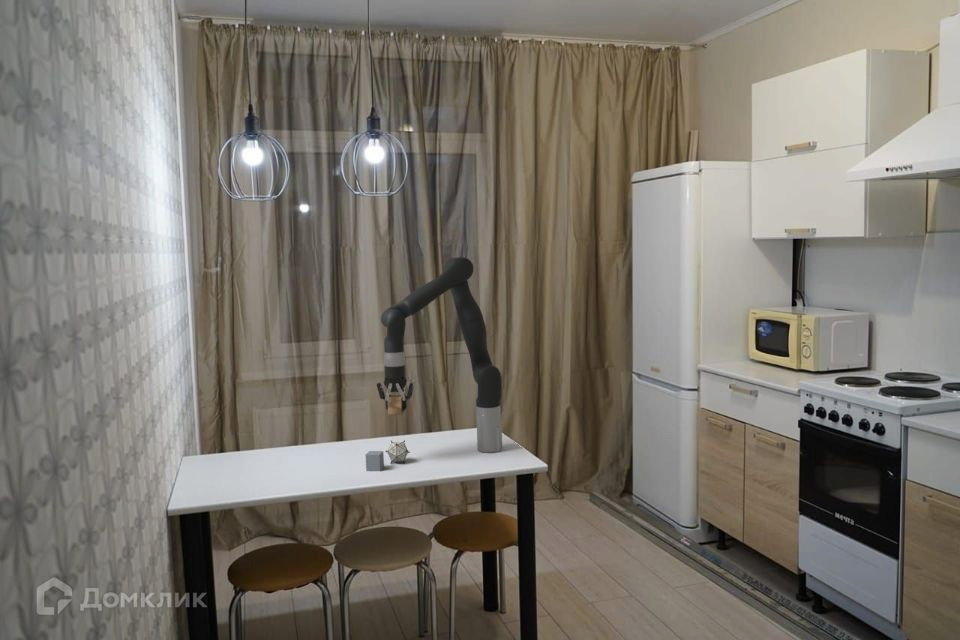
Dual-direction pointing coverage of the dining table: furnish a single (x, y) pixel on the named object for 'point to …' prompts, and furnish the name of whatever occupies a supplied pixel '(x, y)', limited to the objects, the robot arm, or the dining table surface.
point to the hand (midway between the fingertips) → (396, 410)
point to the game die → (397, 451)
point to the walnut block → (395, 404)
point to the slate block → (374, 460)
